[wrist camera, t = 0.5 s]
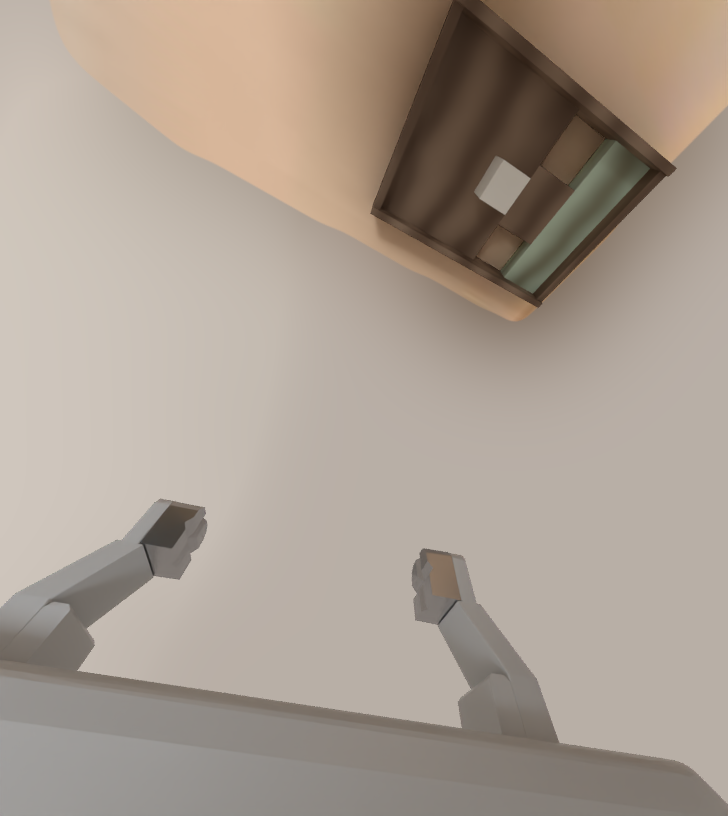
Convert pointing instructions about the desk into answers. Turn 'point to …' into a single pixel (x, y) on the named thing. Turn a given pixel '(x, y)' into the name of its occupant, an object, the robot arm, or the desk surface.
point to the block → (501, 185)
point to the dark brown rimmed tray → (508, 157)
